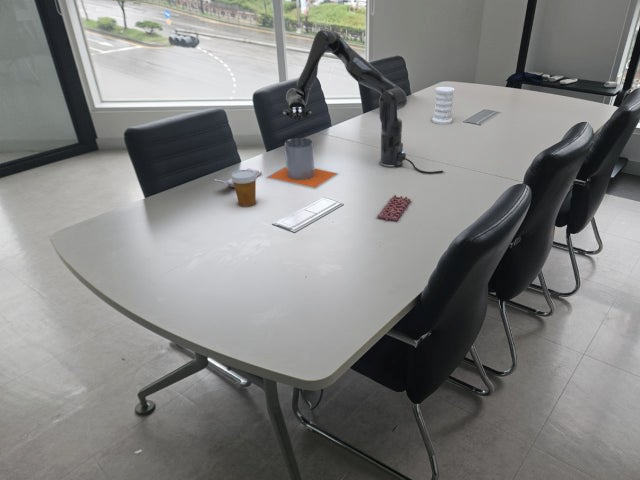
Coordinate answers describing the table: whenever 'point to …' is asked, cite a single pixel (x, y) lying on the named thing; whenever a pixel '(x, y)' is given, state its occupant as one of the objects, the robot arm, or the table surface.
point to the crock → (299, 158)
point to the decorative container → (443, 105)
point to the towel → (312, 182)
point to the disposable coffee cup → (245, 186)
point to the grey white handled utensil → (232, 181)
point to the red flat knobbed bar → (394, 208)
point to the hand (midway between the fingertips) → (297, 117)
